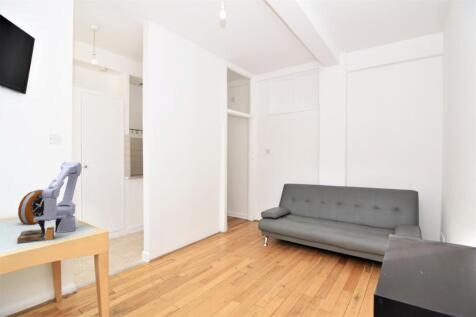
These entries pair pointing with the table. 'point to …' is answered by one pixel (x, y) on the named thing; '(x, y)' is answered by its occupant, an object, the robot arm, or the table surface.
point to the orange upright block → (49, 233)
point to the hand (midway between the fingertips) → (49, 232)
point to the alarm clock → (31, 207)
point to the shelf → (30, 236)
